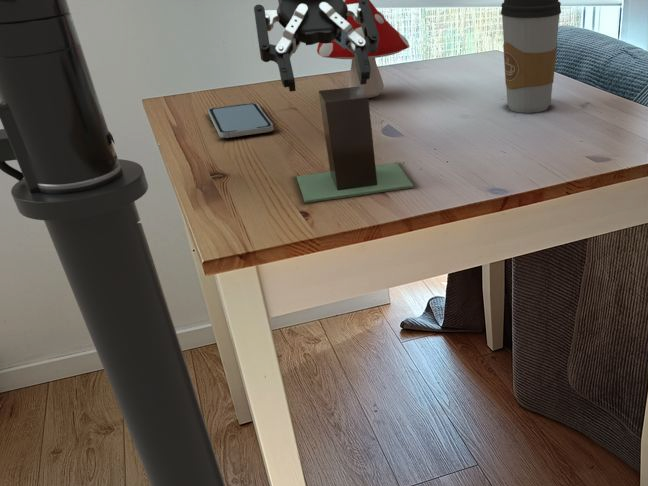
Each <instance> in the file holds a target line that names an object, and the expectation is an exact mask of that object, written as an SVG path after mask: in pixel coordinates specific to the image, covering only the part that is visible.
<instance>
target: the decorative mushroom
mask: <svg viewBox="0 0 648 486" xmlns="http://www.w3.org/2000/svg"><path fill="white" fill-rule="evenodd" d="M368 1H369V4H370V8H371V11H372V14H373V17H374V21H375V24H376V27H377V30H378V33H379V41H378V50H377V52H375V53H372V52H369V53H368V59H369V63H370V67H371V71H370V78H369V79H367V82H366V84H363V85H360V81H359V77H358V73H357V69H356V64H355V60H354V58H355V55H354V54H352V53H351V52H350V51H349V50H348V49H344V48H342V47H341V46H340V45H339V44H338V43H336V42H335V41H334V40H333V41H331V43H327V44H324V43H317V49H316V53H317V54H318V56H320V57H321V58H329V59H334V60H351V65H350V71H349V78H348V88H350V87H360V88H361V89H362V90H363V92H364V93H365V94H366V95H367V97H368V99H372V98H376V97H377V96H379V95H381V94H382V93H383V91H384V87H385V85H384V81H383V78H382V75H381V72H380V69H379V66H378V64H377V61H376V59H378V58H383V57H389V56H394V55H396V54H399V53H401V52H403V51H405V50H407V49H409V48H410V43H409V41H408V39H407V38H406V37H405V36H404V35H403V34H401V33H400V32H399V31H398V30H397V29H396V28H395V27H394V26H393V25H391V23H390V22H389V21H388V20H387V19H386V17H385V15H384V14H383V13H382V11H379V10H378V9H377V8H376V6H375V5H374V4H373V2H372V1H371V0H368ZM344 2H345V3H346V5H347V4H355V3H359V0H344ZM346 21H347V22H349V23H350V24H351V25H352V27H353V29H354V30H355V31H356V32H357V33H358V34H359V35H360V36H362V37H363V38H364V34H363V30H362V27H361V24H357V22H356V21H355V20H354V18H353V17H351V16H348V17H347V20H346ZM340 32H341V31H340Z"/></svg>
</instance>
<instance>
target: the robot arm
mask: <svg viewBox="0 0 648 486" xmlns="http://www.w3.org/2000/svg"><path fill="white" fill-rule="evenodd" d="M277 2H278V6H277V9H266V8H265V7H264V6H263V5H262V4H256V5H254V7H253V11H254V20H255V27H256V35H257V43H258V49H259V55H260V56H259V57H260V60H261V61H262V62H264V63H269V62H274V63H276V65H277V67H278V71H279V76H280V81H281V84H282V86H283V87H284V88H288V91H289V93H290V92H296V90H297V89H296V81H295V76H294V70H293V67H292V62H291V57H292V56H293V54H295V53H296V52H297V51H298V48H299V46H300V45H301V43H302V44H305V46H313V45H315V44H319V43H324V44H327V43H331V41H333V40H334V41H335V42H336V43H338V44H339V45H340V46H341V47H342V48H344V49H348V50H349V51H350V52H351V53H352V54H354V55H355V58H354V60H355V64H356V69H357V73H358V77H359V81H360V85H363V84H366V82H367V79H369V78H370V71H371V67H370V63H369V59H368V53H369V52H372V53H375V52H377V50H378V41H379V33H378V30H377V27H376V24H375V21H374V17H373V14H372V11H371V8H370V4H369V1H368V0H359V3H355V4H347V5H346V3H345V0H277ZM348 16H351V17H353V18H354V20H355V21H356V22H357V24H361V27H362V30H363V34H364V38H363V37H362V36H360V35H359V34H358V33H357V32H356V31H355V30H354V29H353V27H352V25H351V24H350V23H349V22H347V21H346V20H347V17H348ZM277 22H278V23H279V24H280V25H281V26H282V27H283V28H284V29H283V31H282V36H280V37H281V38H280V39H279V41H278V42H277V43H276V44H271V43H270V38H269V32H271V31H272V30H273V29H274V25H275V23H277ZM340 31H341V32H340ZM0 122H1V125H2V128H1V129H0V171H2V172H3V173H5V174H6V175H8V176H10V177H12V178H13V179H15V180H17V181H18V182H19V181H21V180H22V179H23V178H24V179H25V181H26V184H27V186H28V189H29V191H30V193H31V194H33V193H48V194H67V193H75V192H81V191H86V190H90V189H94V188H98V187H101V186H104V185H106V184H108V183H111V182H113V181H114V180H116V179H118V178H119V177H120V176H121V175H122V169H121V165H120V162H119V161H118V159H119V158H118V155H117V153H116V150H115V147H114V145H116V143H115V139H114V137H113V134H112V133H111V132H110V131H109V127H108V124H107V122H106V119H105V116H104V111H103V109H102V105H101V103H100V100H99V97H98V94H97V90H96V88H95V83H94V82H93V79H92V76H91V72H90V69H89V66H88V62H87V60H86V56H85V54H84V51H83V47H82V44H81V41H80V37H79V34H78V32H77V29H76V25H75V21H74V19H73V17H72V13H71V12H70V7H69V4H68V0H0ZM9 161H17V164H18V166H19V169H20V170H18V169H16V168H14V167H12V166H11V165H9V164H8V163H7V162H9Z"/></svg>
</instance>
